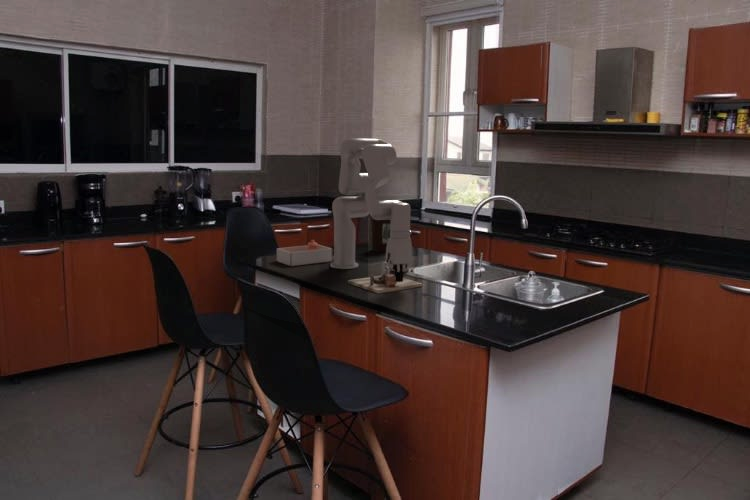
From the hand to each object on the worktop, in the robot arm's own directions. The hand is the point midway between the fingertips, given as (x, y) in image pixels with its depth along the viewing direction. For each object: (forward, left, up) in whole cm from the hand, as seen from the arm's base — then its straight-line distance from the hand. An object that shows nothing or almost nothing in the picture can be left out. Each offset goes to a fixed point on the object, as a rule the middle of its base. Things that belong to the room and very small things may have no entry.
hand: (398, 281), depth 258 cm
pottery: (-66, -5, -3) cm, 66 cm away
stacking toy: (-26, +22, -3) cm, 34 cm away
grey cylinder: (-8, -4, -2) cm, 9 cm away
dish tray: (-66, -3, -3) cm, 66 cm away
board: (-8, 0, -3) cm, 9 cm away
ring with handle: (-6, -2, -1) cm, 6 cm away
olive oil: (-70, +45, -3) cm, 83 cm away
